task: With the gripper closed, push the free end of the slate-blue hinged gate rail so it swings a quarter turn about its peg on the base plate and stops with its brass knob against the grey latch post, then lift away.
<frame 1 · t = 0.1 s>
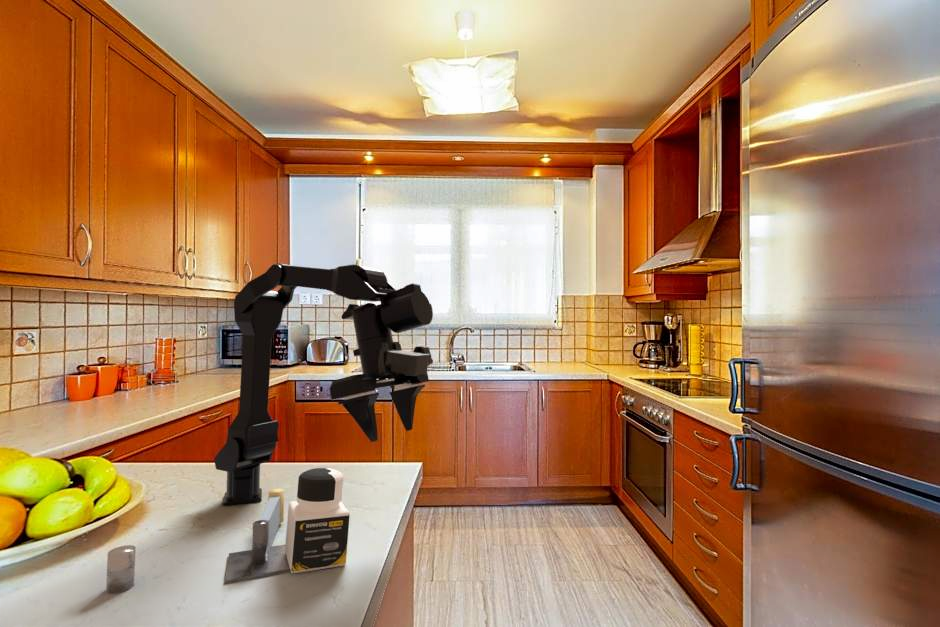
hand: (392, 435, 76), 15 cm above the countertop, tool pointing down, fingers open, 9 cm apart
medicine bottle: (314, 560, 66), on the countertop, touching peg on base plate
latch post: (120, 587, 59), on the countertop
gate: (270, 518, 74), point 3 cm above the countertop, hinge at 0.0°
peg on base plate: (259, 563, 66), on the countertop
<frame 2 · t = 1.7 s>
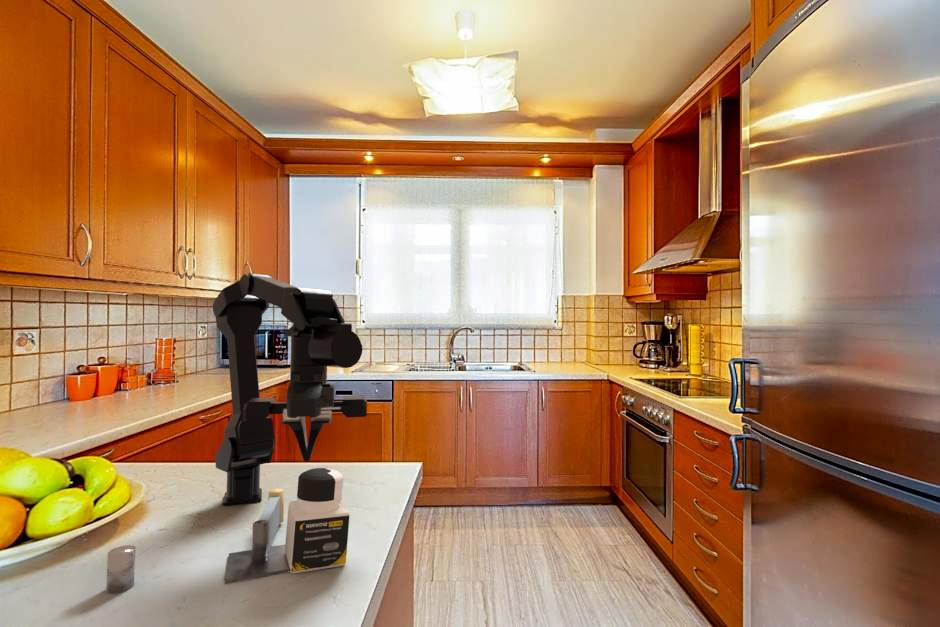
hand: (306, 460, 78), 11 cm above the countertop, tool pointing down, fingers closed
nothing on the countertop moved.
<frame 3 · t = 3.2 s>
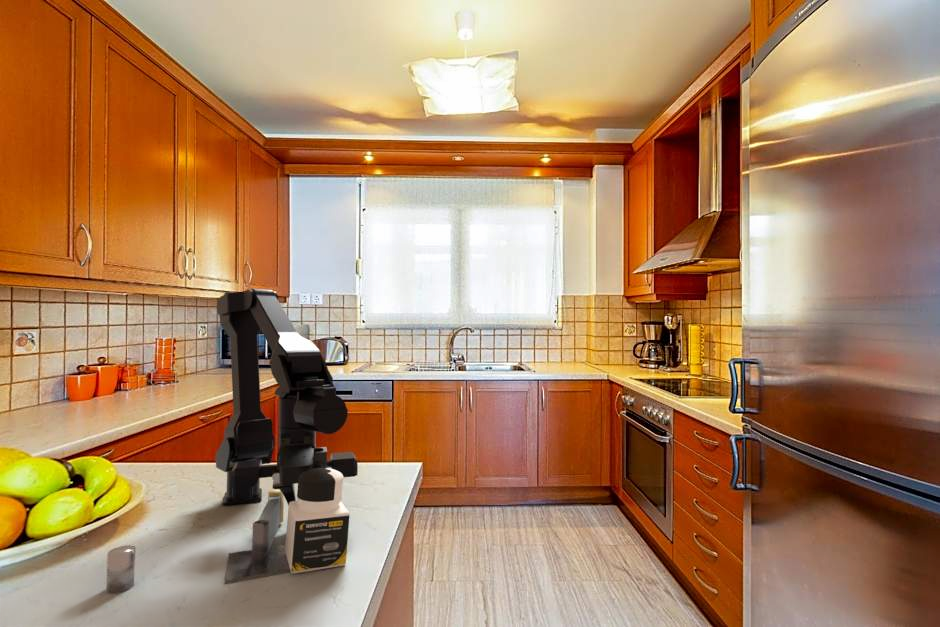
hand: (296, 522, 77), 1 cm above the countertop, tool pointing down, fingers closed
gate: (270, 518, 74), point 3 cm above the countertop, hinge at 0.2°, touching gripper
everything else where it was.
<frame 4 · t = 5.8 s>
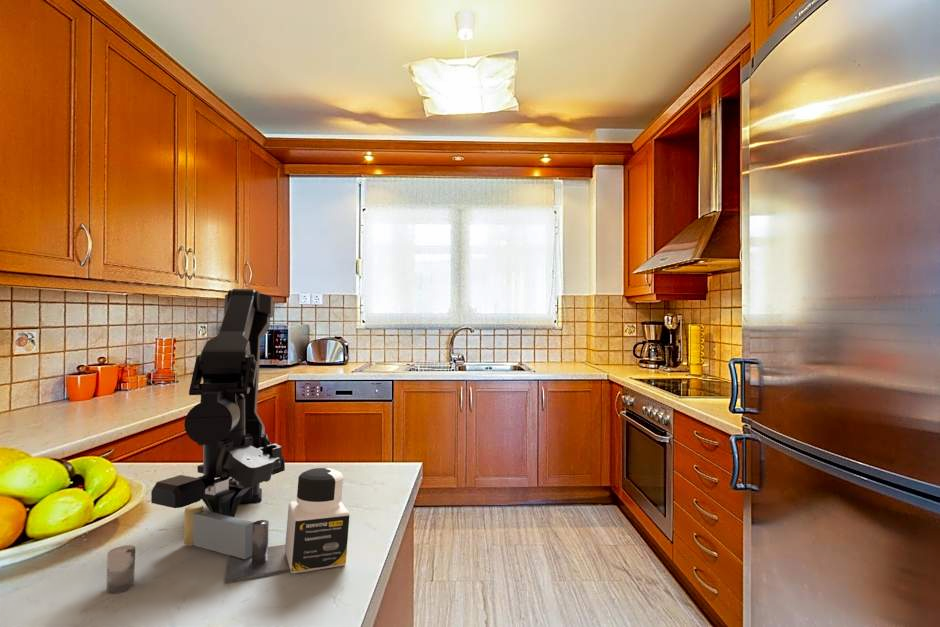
hand: (225, 533, 72), 1 cm above the countertop, tool pointing down, fingers closed
gate: (217, 530, 69), point 3 cm above the countertop, hinge at 52.4°, touching gripper
everything else where it was.
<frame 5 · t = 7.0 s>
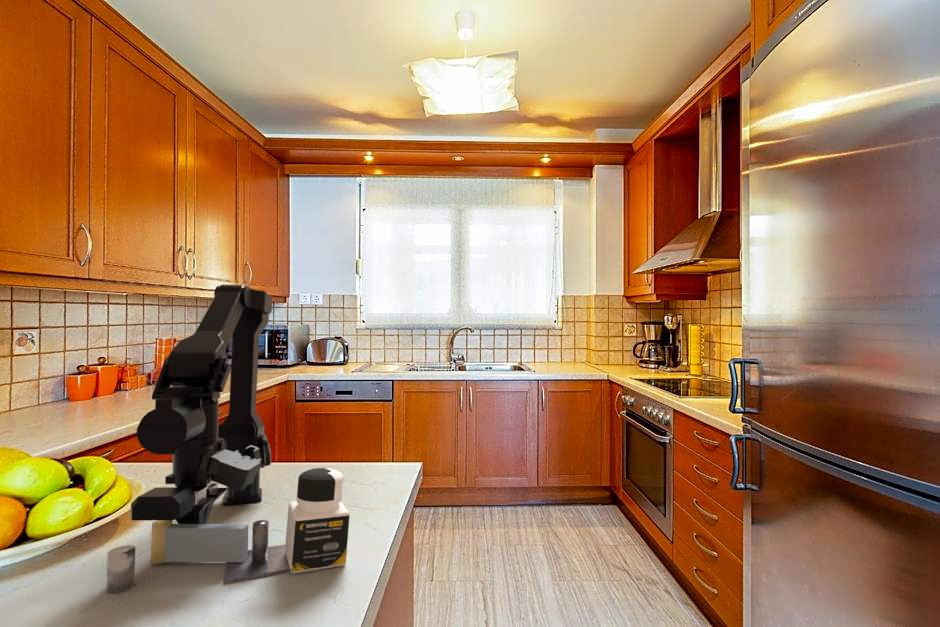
hand: (195, 545, 68), 1 cm above the countertop, tool pointing down, fingers closed
gate: (199, 540, 66), point 3 cm above the countertop, hinge at 76.7°, touching gripper
everything else where it was.
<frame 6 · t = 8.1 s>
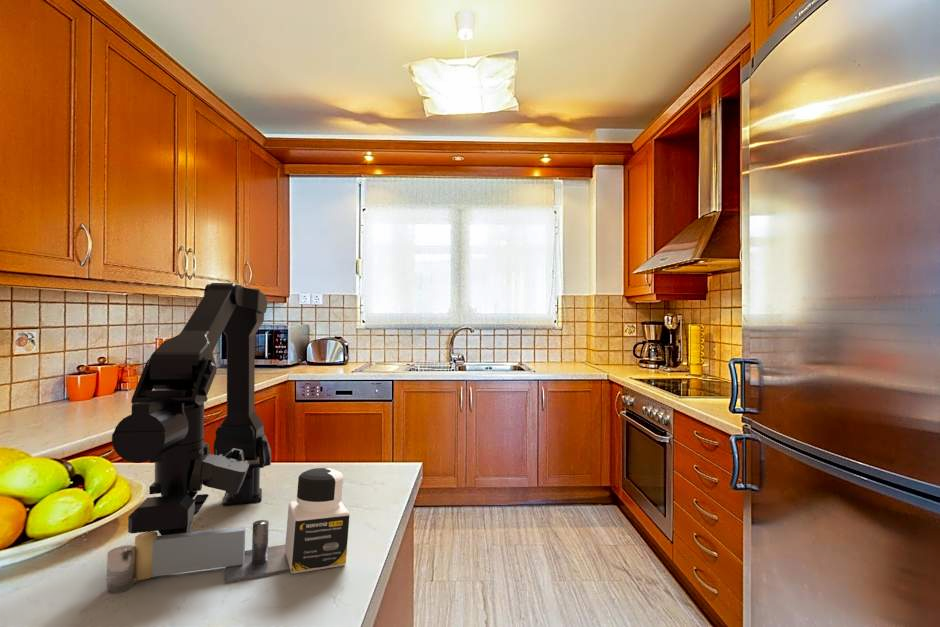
hand: (178, 556, 65), 1 cm above the countertop, tool pointing down, fingers closed
gate: (191, 549, 63), point 3 cm above the countertop, hinge at 95.0°, touching gripper
everything else where it was.
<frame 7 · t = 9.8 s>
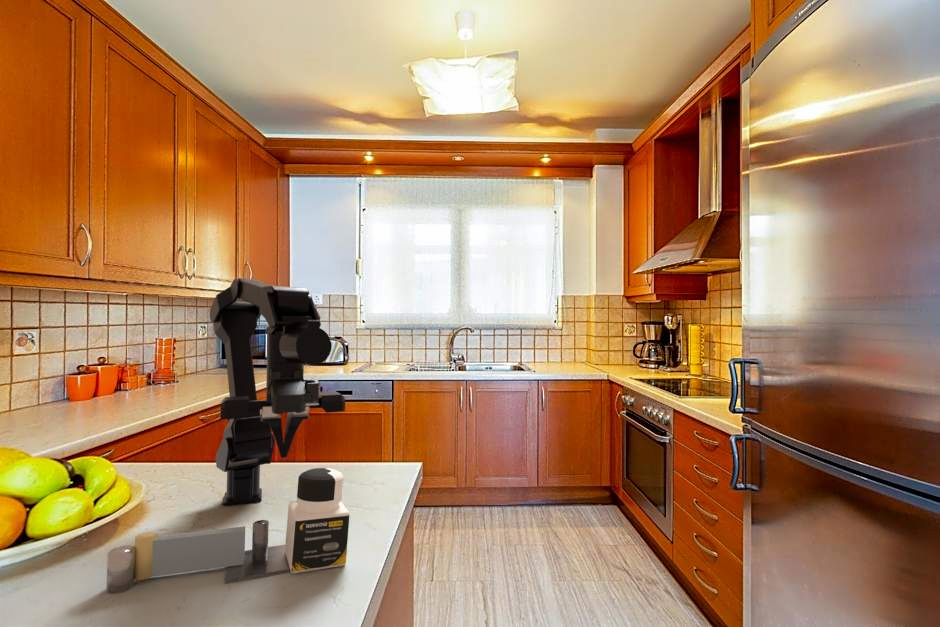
hand: (283, 457, 79), 11 cm above the countertop, tool pointing down, fingers closed
gate: (191, 549, 63), point 3 cm above the countertop, hinge at 95.2°, touching latch post
everything else where it was.
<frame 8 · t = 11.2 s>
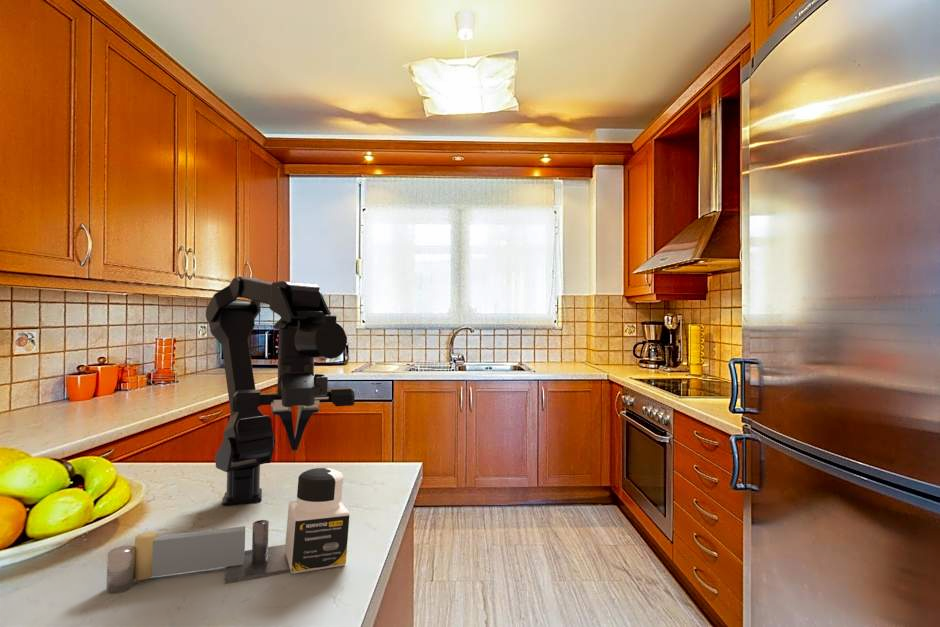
hand: (294, 450, 80), 12 cm above the countertop, tool pointing down, fingers closed
nothing on the countertop moved.
at the end: gate at +95° (first picture: +0°); medicine bottle moved 0.0 cm from its start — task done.
